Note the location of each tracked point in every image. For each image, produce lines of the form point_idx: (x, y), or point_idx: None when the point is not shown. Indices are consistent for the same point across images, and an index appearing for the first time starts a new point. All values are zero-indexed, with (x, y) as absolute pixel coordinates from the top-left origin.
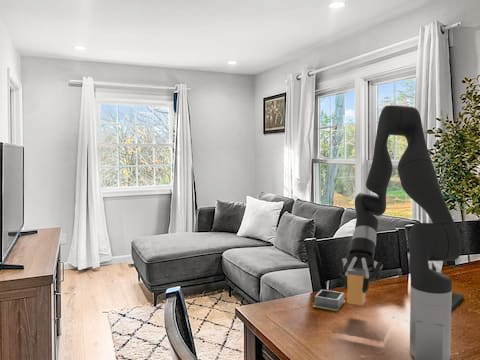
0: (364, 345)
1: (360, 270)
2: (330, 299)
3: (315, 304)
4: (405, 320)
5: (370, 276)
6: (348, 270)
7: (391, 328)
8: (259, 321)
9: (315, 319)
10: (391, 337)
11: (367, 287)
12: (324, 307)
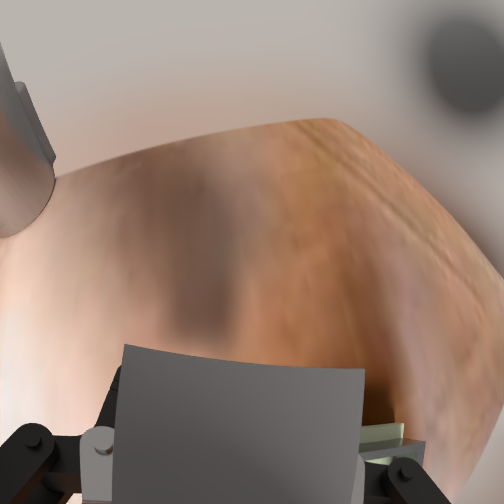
0: (170, 190)
1: (168, 443)
2: (358, 452)
3: (400, 439)
4: None
5: (70, 460)
6: (350, 370)
7: (70, 353)
8: (472, 257)
9: (367, 340)
10: (78, 271)
11: (118, 368)
12: (363, 439)
